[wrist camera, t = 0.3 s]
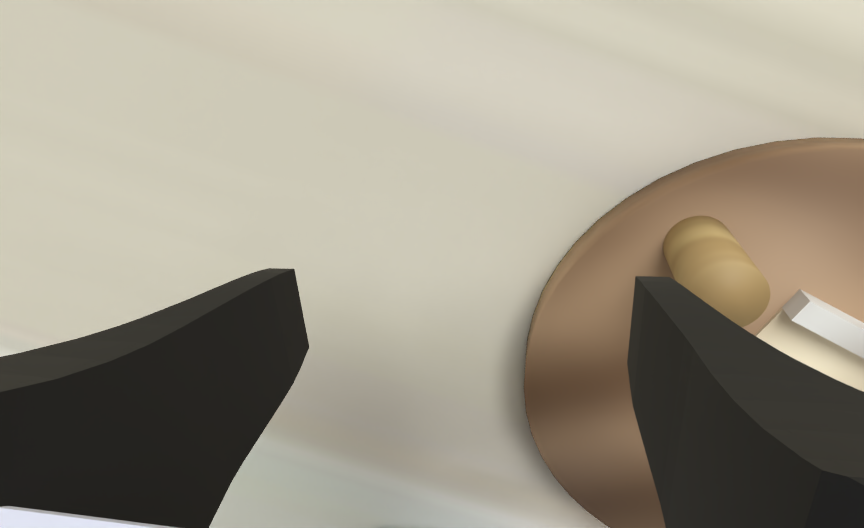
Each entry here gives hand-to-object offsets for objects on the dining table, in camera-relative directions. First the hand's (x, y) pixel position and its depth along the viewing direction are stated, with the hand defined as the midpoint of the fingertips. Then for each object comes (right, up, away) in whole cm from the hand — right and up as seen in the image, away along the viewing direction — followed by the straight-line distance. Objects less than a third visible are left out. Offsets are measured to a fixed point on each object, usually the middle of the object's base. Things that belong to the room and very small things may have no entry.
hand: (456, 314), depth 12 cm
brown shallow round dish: (+12, -3, +9) cm, 16 cm away
